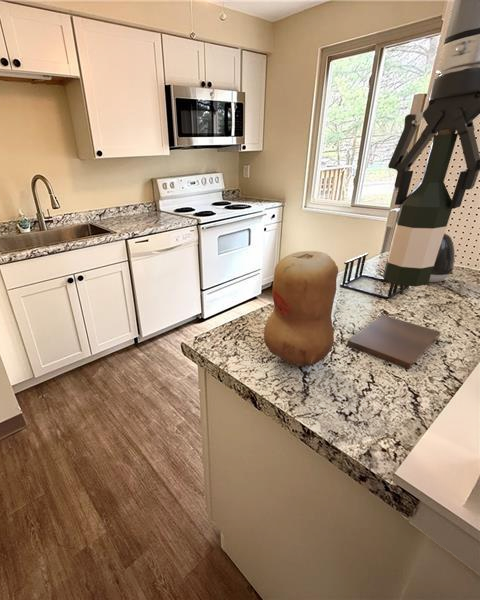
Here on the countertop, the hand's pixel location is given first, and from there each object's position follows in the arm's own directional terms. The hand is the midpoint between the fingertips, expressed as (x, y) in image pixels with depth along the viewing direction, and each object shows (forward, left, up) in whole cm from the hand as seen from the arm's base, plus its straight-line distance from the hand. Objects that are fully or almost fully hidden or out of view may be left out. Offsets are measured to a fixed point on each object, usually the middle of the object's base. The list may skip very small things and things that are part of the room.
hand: (425, 205), depth 63 cm
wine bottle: (0, 0, -17) cm, 17 cm away
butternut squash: (+25, +10, -31) cm, 41 cm away
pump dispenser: (-29, -32, -31) cm, 53 cm away
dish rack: (-11, -28, -31) cm, 43 cm away
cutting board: (+1, +4, -31) cm, 31 cm away
